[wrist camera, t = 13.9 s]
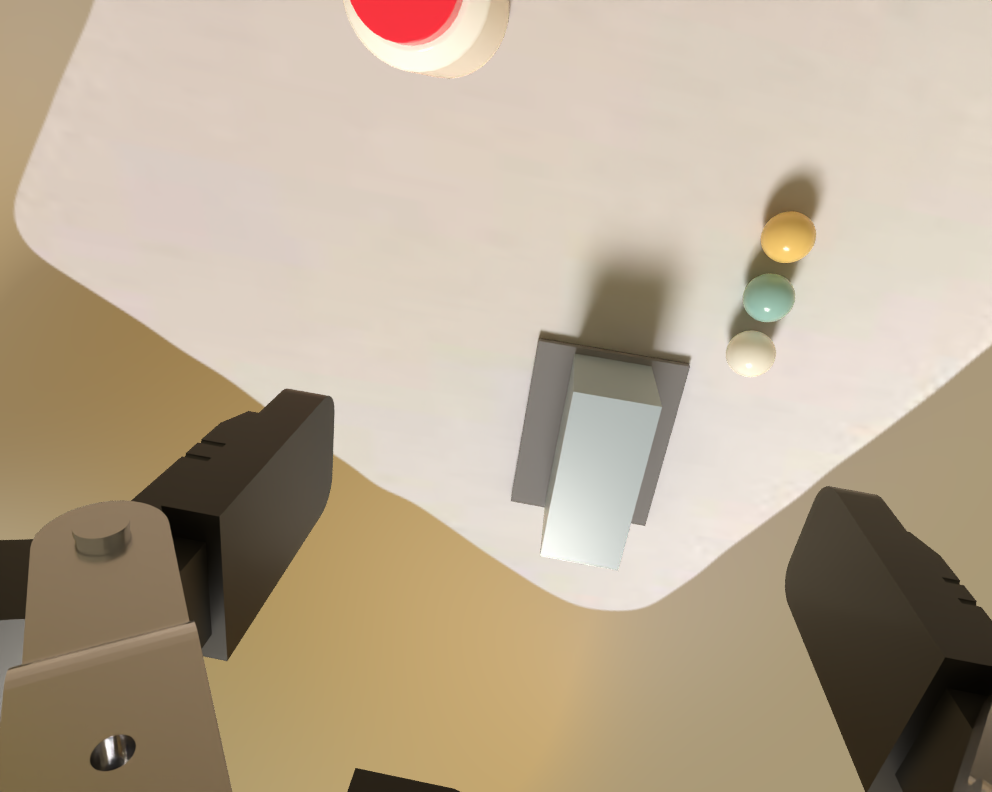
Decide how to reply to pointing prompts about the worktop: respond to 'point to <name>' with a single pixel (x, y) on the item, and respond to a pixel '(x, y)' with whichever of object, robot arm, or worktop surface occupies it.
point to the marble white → (750, 353)
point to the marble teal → (768, 297)
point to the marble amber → (788, 237)
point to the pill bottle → (430, 33)
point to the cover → (599, 460)
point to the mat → (548, 412)
